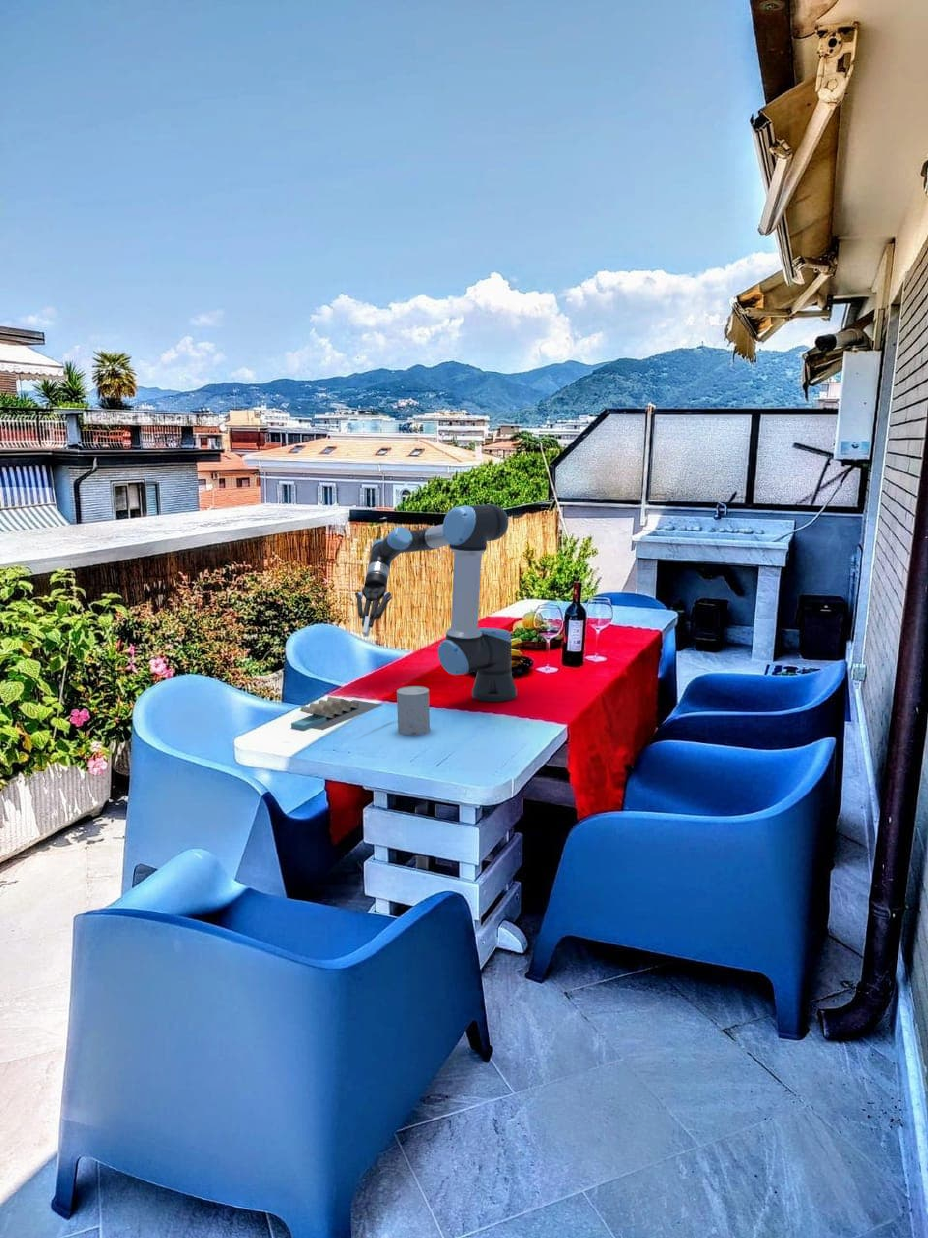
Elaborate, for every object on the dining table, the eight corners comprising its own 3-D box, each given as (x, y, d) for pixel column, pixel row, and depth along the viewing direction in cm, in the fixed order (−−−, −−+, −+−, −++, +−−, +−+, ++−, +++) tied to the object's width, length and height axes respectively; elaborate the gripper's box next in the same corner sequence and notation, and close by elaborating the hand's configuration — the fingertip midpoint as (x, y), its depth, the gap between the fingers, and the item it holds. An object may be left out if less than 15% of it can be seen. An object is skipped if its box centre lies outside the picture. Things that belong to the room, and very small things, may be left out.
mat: (353, 702, 282) (353, 700, 282) (383, 707, 276) (383, 704, 276) (291, 727, 257) (291, 724, 257) (322, 733, 251) (322, 730, 251)
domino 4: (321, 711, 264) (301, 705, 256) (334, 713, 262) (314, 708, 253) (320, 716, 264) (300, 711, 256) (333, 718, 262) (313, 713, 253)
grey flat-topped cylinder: (418, 737, 246) (416, 696, 243) (391, 732, 250) (390, 692, 248) (436, 728, 253) (435, 688, 251) (410, 724, 258) (409, 684, 256)
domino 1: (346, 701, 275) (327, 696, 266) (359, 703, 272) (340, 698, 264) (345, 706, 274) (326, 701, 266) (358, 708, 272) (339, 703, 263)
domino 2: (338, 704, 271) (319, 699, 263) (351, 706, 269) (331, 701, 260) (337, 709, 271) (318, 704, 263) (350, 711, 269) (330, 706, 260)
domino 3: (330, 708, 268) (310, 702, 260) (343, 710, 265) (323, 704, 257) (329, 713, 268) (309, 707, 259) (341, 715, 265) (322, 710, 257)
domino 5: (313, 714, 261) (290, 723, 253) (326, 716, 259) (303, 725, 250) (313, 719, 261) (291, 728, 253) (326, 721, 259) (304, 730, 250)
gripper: (397, 584, 298) (386, 641, 285) (361, 584, 300) (349, 640, 287) (392, 571, 292) (381, 628, 278) (356, 571, 294) (343, 628, 281)
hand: (365, 634), depth 283 cm, fingers closed
